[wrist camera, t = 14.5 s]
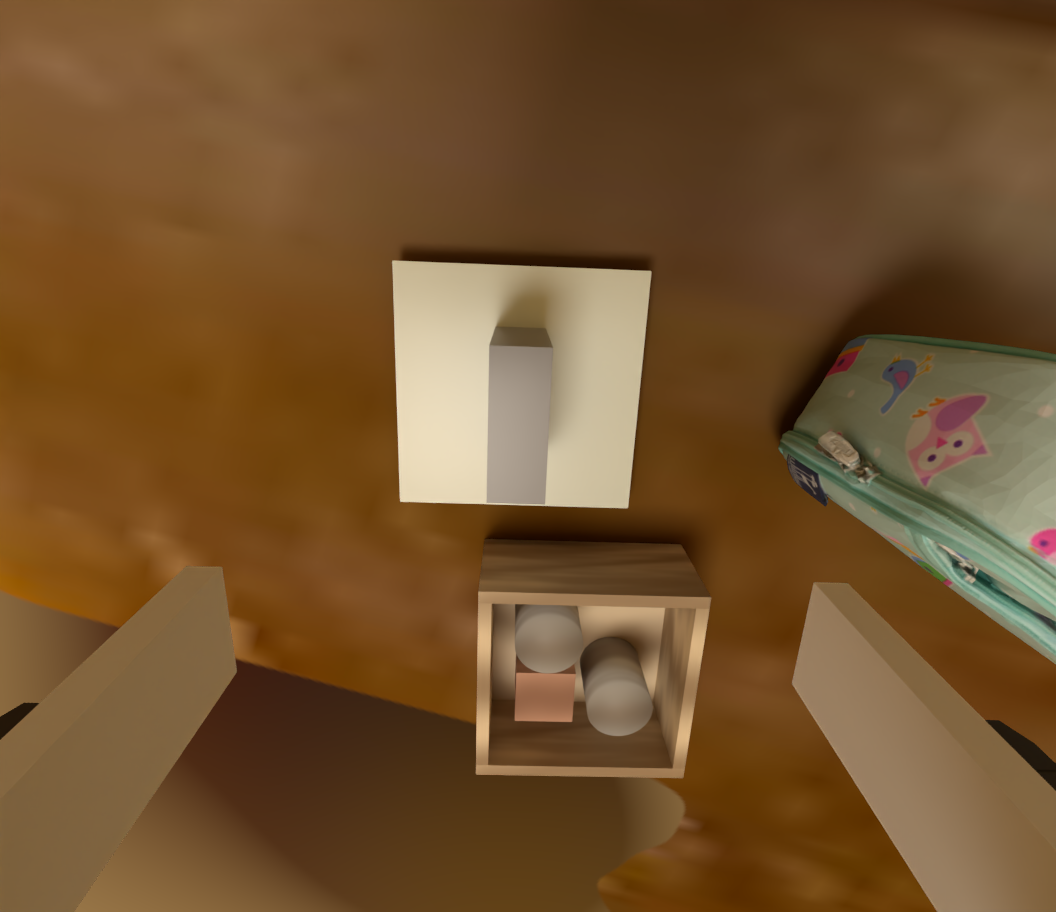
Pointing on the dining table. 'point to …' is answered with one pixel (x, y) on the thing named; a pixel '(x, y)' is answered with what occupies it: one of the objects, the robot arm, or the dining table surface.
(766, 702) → the dining table surface
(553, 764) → the crate
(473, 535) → the dining table surface
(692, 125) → the dining table surface
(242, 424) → the dining table surface
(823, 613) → the robot arm
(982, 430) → the lunch box
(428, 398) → the lid
